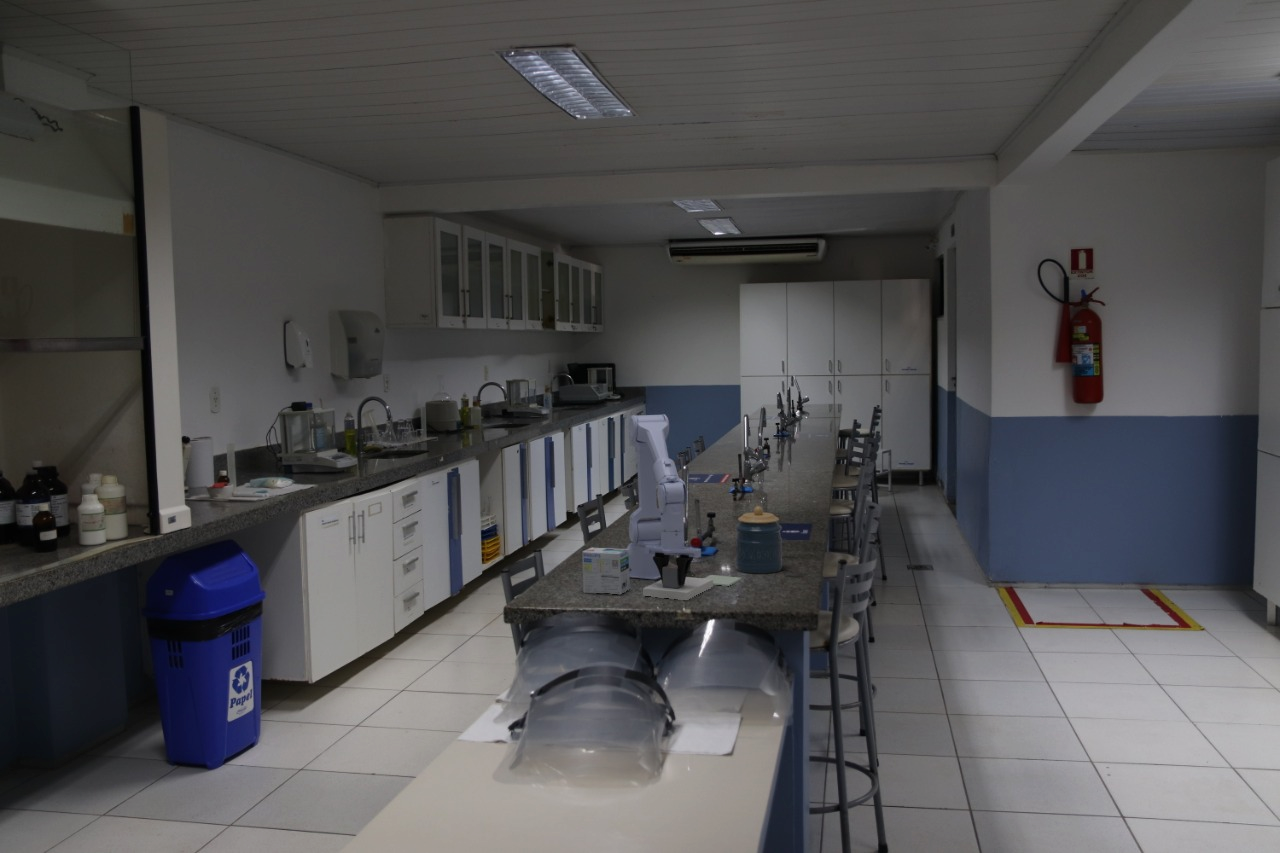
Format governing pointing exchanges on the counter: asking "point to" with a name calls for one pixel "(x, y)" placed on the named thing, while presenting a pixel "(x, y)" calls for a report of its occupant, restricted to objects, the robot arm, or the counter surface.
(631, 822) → the counter surface
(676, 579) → the plug
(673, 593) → the plate
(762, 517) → the canister
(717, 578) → the mat
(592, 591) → the light bulb box
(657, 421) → the robot arm
